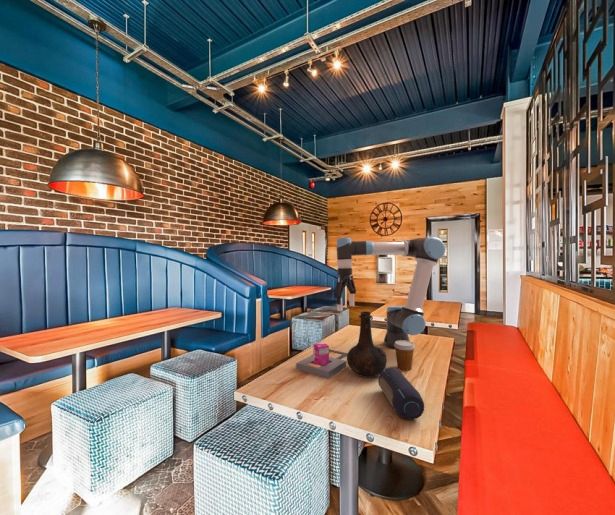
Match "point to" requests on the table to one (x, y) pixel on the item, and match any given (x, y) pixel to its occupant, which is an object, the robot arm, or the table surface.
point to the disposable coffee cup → (404, 354)
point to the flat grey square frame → (340, 353)
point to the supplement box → (321, 354)
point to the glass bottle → (366, 352)
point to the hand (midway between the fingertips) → (346, 308)
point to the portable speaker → (401, 394)
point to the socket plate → (321, 367)
